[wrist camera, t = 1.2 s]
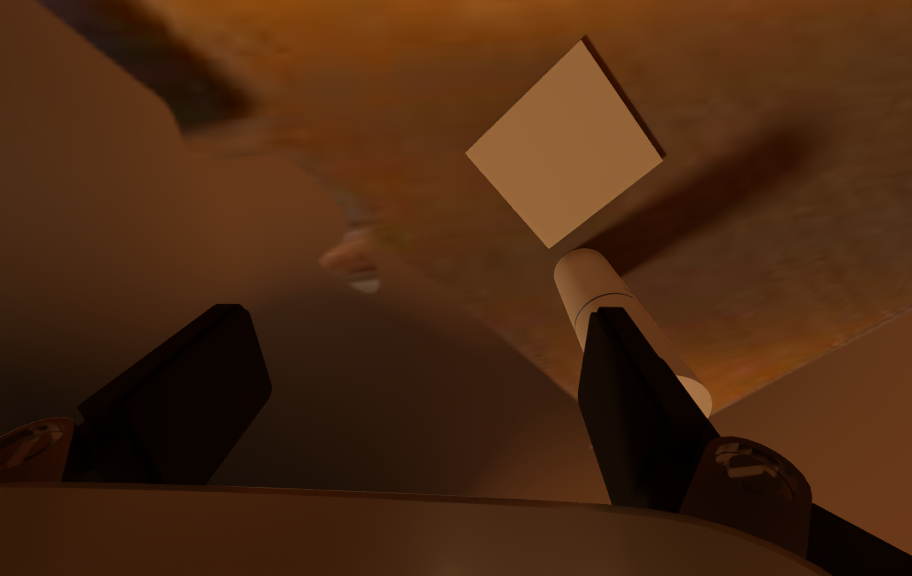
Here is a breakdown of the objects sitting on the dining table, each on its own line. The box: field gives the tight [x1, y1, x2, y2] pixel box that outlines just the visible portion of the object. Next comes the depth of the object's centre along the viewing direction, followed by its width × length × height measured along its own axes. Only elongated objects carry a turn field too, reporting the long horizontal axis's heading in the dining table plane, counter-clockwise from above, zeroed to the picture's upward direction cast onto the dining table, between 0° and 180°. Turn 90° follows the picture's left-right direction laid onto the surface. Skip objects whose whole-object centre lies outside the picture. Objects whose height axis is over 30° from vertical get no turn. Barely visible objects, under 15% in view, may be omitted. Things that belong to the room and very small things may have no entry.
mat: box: [465, 40, 663, 249], centre depth 43 cm, size 16×16×1 cm
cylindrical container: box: [554, 248, 712, 419], centre depth 39 cm, size 7×7×25 cm
